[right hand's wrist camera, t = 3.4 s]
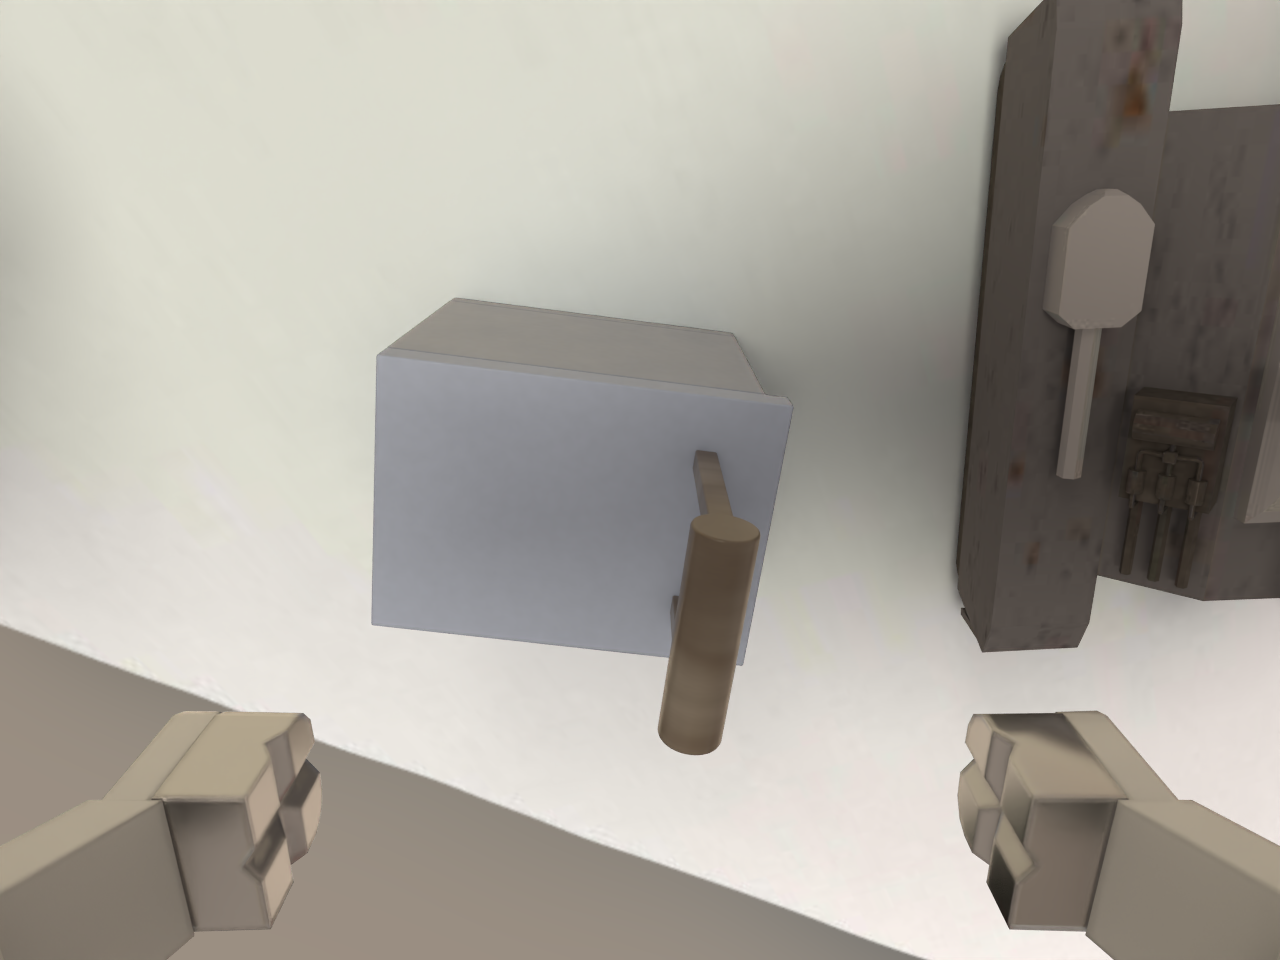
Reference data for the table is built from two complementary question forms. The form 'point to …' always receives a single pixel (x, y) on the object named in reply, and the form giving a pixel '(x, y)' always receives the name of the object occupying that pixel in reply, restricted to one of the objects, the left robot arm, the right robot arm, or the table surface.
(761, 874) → the table surface
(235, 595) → the table surface
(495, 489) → the lid
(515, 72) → the table surface
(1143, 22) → the toy
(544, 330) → the chest
